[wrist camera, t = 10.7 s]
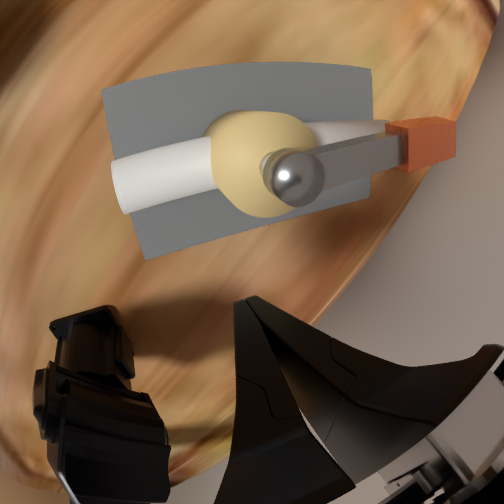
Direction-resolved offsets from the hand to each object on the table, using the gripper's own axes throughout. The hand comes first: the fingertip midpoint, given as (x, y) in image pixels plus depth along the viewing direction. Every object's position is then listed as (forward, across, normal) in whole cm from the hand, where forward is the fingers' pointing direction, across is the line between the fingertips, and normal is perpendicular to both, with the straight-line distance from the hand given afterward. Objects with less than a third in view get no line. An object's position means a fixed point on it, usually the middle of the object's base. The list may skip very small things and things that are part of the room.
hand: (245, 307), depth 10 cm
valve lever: (+4, -10, -4) cm, 11 cm away
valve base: (+12, -6, -3) cm, 14 cm away
